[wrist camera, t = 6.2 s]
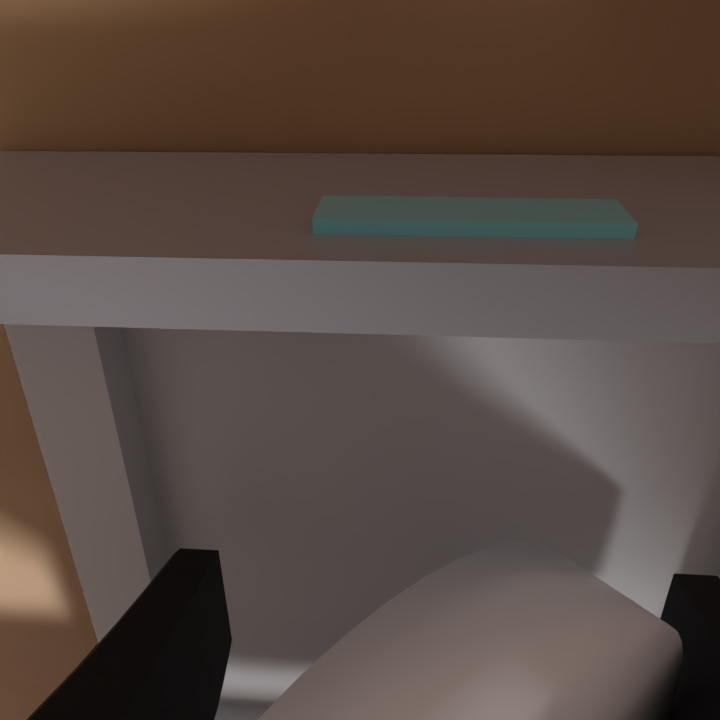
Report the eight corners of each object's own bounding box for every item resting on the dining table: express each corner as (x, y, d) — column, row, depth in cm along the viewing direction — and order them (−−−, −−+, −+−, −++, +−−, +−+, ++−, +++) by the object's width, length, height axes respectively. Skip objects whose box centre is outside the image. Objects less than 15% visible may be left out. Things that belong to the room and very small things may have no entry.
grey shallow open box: (979, 146, 9) (1373, 262, 5) (726, 740, 15) (823, 980, 11) (-17, 139, 10) (-277, 232, 6) (136, 699, 16) (52, 910, 12)
